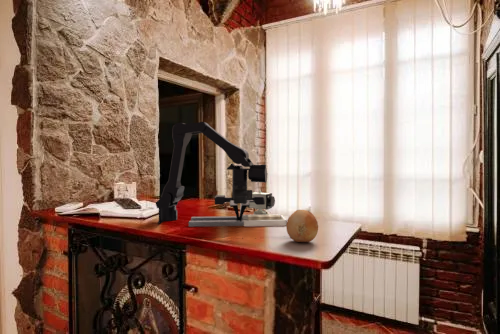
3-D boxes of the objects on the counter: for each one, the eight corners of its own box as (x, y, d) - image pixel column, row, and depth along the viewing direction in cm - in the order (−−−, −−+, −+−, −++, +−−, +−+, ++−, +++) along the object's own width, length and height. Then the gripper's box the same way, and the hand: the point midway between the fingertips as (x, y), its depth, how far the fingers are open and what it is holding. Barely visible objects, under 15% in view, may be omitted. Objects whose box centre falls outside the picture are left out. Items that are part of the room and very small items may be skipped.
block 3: (269, 224, 117) (269, 216, 117) (268, 222, 121) (268, 214, 121) (280, 224, 118) (280, 216, 117) (278, 222, 121) (278, 214, 121)
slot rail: (188, 229, 112) (188, 222, 112) (191, 223, 122) (191, 216, 121) (243, 228, 113) (243, 221, 113) (242, 222, 123) (242, 216, 123)
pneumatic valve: (270, 221, 126) (270, 192, 125) (245, 218, 131) (245, 190, 131) (275, 218, 130) (276, 190, 130) (251, 216, 136) (251, 189, 135)
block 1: (248, 224, 117) (248, 216, 117) (248, 222, 120) (248, 215, 120) (259, 224, 117) (259, 216, 117) (258, 222, 121) (258, 214, 120)
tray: (243, 228, 112) (244, 220, 112) (242, 222, 124) (242, 214, 124) (286, 228, 114) (286, 220, 113) (281, 221, 125) (281, 214, 125)
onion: (288, 246, 91) (288, 213, 90) (284, 237, 100) (284, 207, 100) (321, 246, 91) (321, 213, 90) (314, 237, 101) (314, 207, 100)
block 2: (259, 224, 117) (259, 216, 117) (258, 222, 120) (258, 214, 120) (269, 224, 117) (269, 216, 117) (268, 222, 121) (268, 214, 121)
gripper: (214, 183, 109) (213, 227, 109) (266, 183, 110) (266, 227, 111) (215, 180, 120) (214, 220, 120) (263, 181, 121) (262, 220, 122)
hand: (239, 222), depth 118 cm, fingers closed
